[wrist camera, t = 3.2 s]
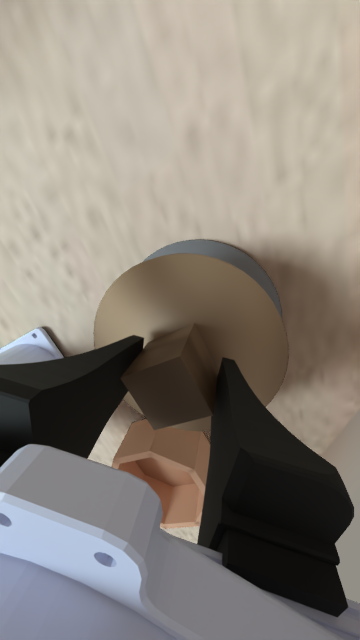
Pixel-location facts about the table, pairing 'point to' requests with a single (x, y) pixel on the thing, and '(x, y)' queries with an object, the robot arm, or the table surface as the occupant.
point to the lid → (191, 336)
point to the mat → (227, 255)
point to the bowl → (168, 469)
